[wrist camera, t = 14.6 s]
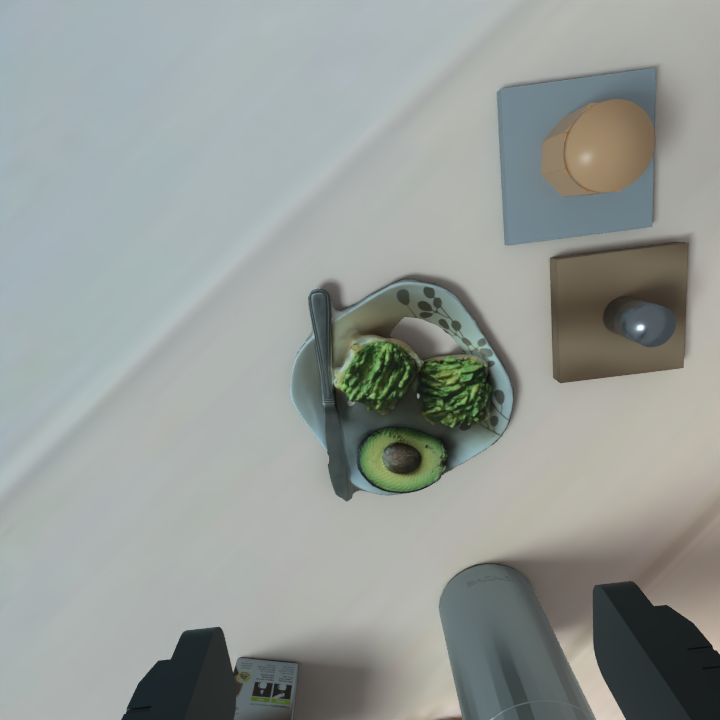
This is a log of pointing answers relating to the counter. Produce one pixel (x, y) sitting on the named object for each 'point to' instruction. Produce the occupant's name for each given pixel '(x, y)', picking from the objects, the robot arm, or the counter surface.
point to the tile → (524, 160)
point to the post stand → (618, 311)
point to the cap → (598, 148)
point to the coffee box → (265, 689)
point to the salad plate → (397, 390)
